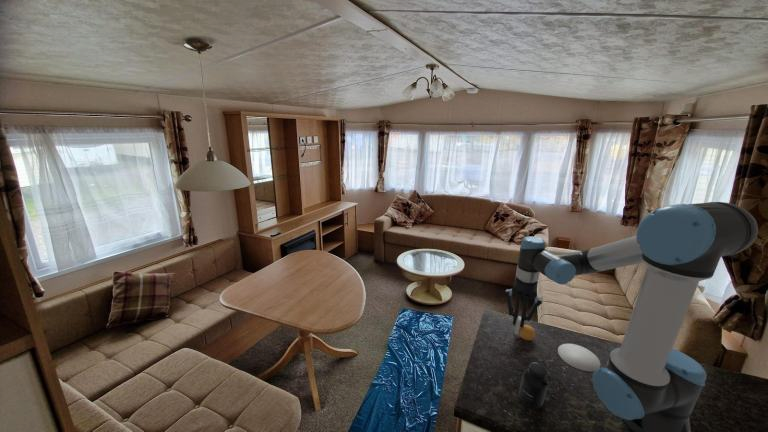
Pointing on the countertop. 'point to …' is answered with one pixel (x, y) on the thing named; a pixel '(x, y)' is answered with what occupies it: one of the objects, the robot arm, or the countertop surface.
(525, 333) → the ball
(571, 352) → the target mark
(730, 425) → the countertop surface
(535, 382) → the supplement bottle
